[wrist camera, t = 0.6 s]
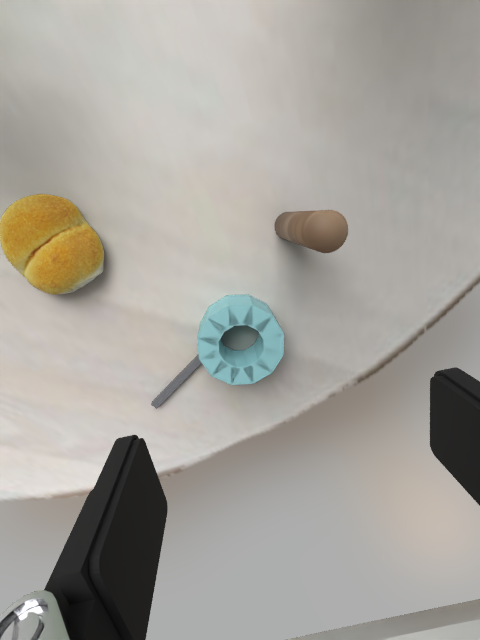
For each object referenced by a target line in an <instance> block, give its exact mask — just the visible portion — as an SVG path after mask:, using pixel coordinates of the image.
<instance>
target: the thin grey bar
mask: <svg viewBox="0 0 480 640" xmlns="http://www.w3.org/2000/svg"><path fill="white" fill-rule="evenodd" d="M200 364H201V361H200V360H199V354H198V355H197V356H196V357H195V358H194V359H193V360H192V361H191V362H190V363H189V364H188V365H187V366H186V368H185V369H184V370H183V371H182V372H181V373H180V374H179V375H178V376H177V377H176V378H175V379H174V380H173V381H172V382H171V383H170V384H169V385H168V386H167V387H166V388H165V389H164V390H163V391H162V392H161V393H160V394H159V395H158V396H157V397H156V398H155V399H154V400H153V401H152V404H151V405H152V406H154V407H155V408H158V407H159V406H160V405H161V404H162V403H163V402H164V401H165V400H166V399H167V398H168V397H169V396H170V394H171V393H172V392H173V391H174V390H175V389H176V388H177V387H178V386H179V385H180V384H181V383H182V382H183V381H184V380H185V379H186V378H187V377H188V376H189V375H190V374H191V373H192V372H193V371H194V370H195V369H196V368H197V367H198V366H199V365H200Z"/></svg>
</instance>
